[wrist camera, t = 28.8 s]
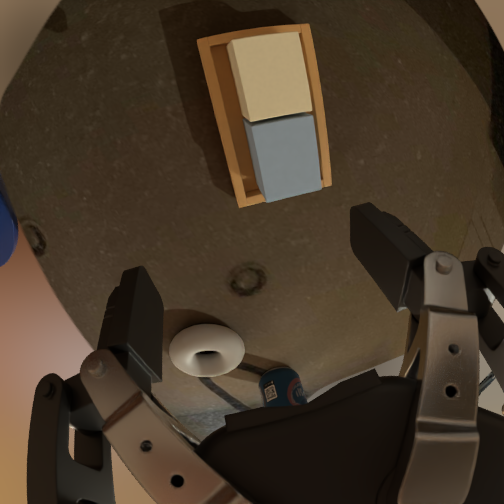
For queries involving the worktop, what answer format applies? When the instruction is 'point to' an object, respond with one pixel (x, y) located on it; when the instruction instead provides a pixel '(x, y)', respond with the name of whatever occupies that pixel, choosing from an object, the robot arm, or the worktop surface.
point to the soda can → (281, 388)
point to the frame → (232, 118)
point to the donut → (202, 340)
